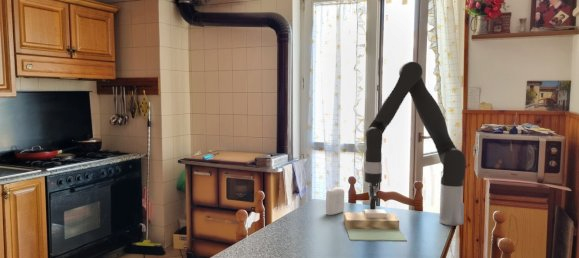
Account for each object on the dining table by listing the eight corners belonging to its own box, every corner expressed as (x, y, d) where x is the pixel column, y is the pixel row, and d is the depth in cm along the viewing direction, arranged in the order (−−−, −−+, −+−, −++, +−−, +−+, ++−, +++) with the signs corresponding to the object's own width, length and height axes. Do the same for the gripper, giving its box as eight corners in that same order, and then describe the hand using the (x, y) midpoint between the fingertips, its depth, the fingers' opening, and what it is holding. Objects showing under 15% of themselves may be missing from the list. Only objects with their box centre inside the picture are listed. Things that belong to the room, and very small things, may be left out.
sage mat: (399, 230, 182) (399, 229, 182) (406, 241, 169) (406, 240, 169) (346, 229, 183) (346, 228, 183) (350, 240, 170) (350, 239, 170)
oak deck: (393, 221, 194) (393, 212, 194) (399, 230, 182) (399, 220, 182) (343, 221, 195) (344, 212, 195) (346, 229, 183) (346, 220, 183)
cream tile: (384, 213, 192) (384, 209, 192) (386, 217, 186) (386, 213, 186) (363, 213, 193) (363, 209, 192) (365, 217, 187) (365, 213, 186)
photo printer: (338, 210, 213) (338, 185, 212) (345, 211, 210) (345, 186, 209) (324, 214, 206) (324, 188, 205) (331, 216, 203) (331, 189, 202)
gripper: (384, 174, 188) (383, 213, 189) (379, 168, 201) (378, 205, 203) (366, 174, 188) (366, 213, 190) (362, 168, 201) (362, 205, 203)
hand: (372, 209), depth 196 cm, fingers closed
